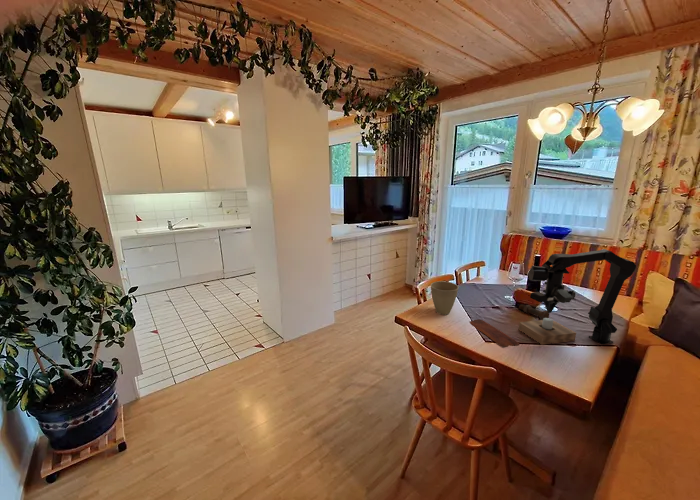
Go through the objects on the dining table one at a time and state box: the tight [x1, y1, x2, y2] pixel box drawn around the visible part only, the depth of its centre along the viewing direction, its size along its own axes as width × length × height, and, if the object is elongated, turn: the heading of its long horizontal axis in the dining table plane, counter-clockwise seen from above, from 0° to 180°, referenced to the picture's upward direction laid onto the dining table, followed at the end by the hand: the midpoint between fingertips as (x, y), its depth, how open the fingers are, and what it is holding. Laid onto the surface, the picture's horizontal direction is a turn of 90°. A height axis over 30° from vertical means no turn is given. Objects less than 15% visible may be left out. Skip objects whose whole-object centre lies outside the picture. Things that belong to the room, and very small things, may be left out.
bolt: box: [518, 303, 550, 320], centre depth 160 cm, size 6×5×15 cm
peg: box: [542, 317, 554, 330], centre depth 139 cm, size 4×4×8 cm
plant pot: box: [430, 280, 460, 316], centre depth 163 cm, size 15×15×16 cm
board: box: [518, 319, 577, 346], centre depth 139 cm, size 18×14×4 cm
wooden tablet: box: [469, 318, 520, 349], centre depth 143 cm, size 27×10×2 cm, turn 14°
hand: (549, 312), depth 137 cm, fingers closed
